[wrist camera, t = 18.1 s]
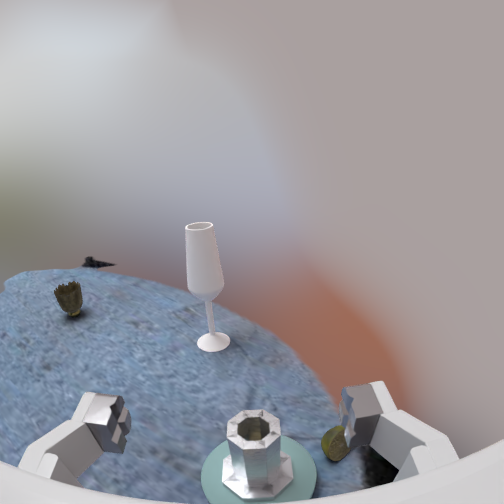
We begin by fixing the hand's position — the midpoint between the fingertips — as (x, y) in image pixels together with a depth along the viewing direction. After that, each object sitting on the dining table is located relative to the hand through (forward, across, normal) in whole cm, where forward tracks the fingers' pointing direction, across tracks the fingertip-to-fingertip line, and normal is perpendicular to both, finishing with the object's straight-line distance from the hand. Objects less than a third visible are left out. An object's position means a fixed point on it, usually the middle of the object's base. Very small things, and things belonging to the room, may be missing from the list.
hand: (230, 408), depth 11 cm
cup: (+56, +45, +30) cm, 78 cm away
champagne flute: (+45, +7, +30) cm, 55 cm away
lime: (+16, -11, +30) cm, 36 cm away
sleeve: (+12, 0, +28) cm, 30 cm away
